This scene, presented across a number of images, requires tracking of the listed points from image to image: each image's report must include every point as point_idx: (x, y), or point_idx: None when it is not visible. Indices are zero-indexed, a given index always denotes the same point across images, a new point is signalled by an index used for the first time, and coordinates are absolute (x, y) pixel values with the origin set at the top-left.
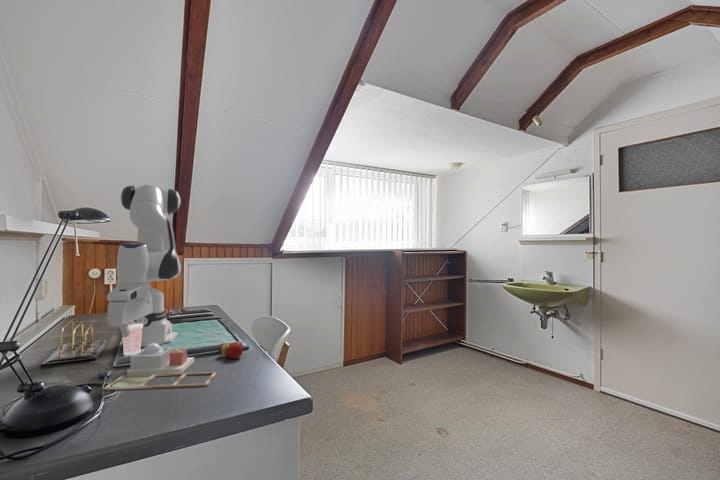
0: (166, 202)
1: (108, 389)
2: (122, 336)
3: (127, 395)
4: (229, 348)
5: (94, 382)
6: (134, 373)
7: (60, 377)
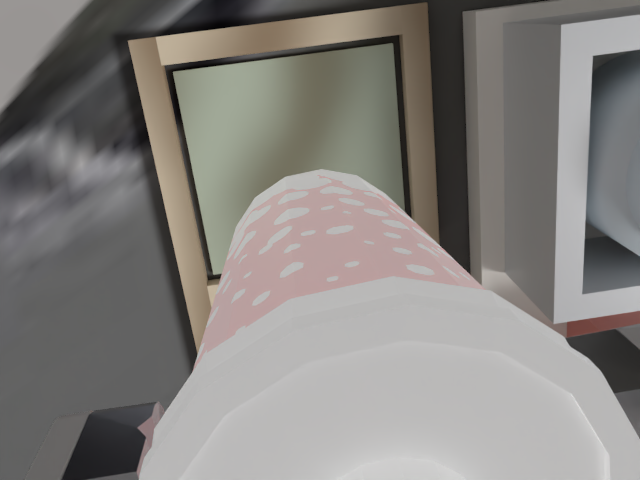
0: None
1: (139, 87)
2: (62, 427)
3: (80, 287)
4: None
5: None
6: (467, 76)
7: None
